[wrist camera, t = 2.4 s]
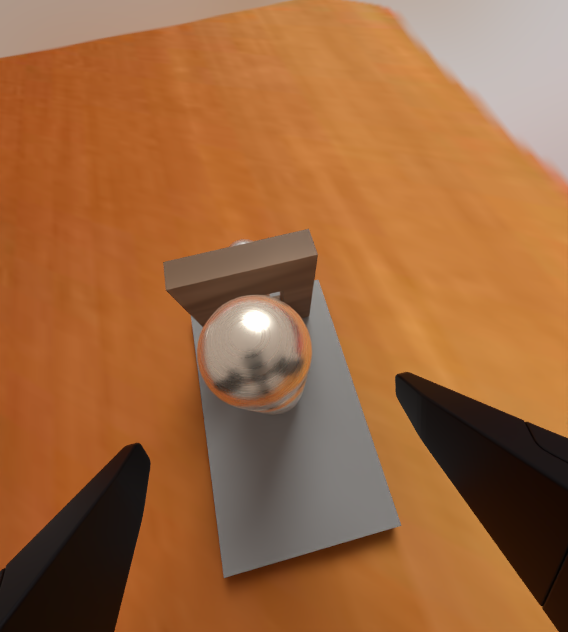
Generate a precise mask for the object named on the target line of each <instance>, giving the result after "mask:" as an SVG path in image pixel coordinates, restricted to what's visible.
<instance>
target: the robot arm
mask: <svg viewBox="0 0 568 632" xmlns="http://www.w3.org/2000/svg"><path fill="white" fill-rule="evenodd" d="M395 383H396V396H397V398H398V400H399V402H400V404H401V406H402V407H403V409H404V411H405V413H406V414H407V416H408V418H409V419H410V421H411V423H412V425H413V426H414V428H415V430H416V432H417V433H418V435H419V437H420V438H421V440H422V441H423V443H424V444H425V446H426V447H427V448H428V450H429V451H430V453H431V454H432V455H433V457H434V458H435V460H436V461H437V462H438V464H439V465H440V467H441V468H442V469H443V471H444V472H445V473H446V475H447V476H448V478H449V479H450V480H451V482H452V483H453V485H454V486H455V487H456V489H457V490H458V492H459V493H460V494H461V496H462V497H463V499H464V500H465V501H466V503H467V504H468V506H469V507H470V508H471V510H472V511H473V512H474V514H475V515H476V517H477V518H478V519H479V521H480V522H481V524H482V525H483V526H484V528H485V529H486V531H487V532H488V533H489V535H490V536H491V538H492V539H493V540H494V542H495V543H496V544H497V546H498V547H499V549H500V550H501V551H502V553H503V554H504V556H505V557H506V558H507V560H508V561H509V563H510V564H511V565H512V567H513V568H514V570H515V571H516V572H517V574H518V575H519V577H520V578H521V579H522V581H523V582H524V583H525V585H526V586H527V588H528V589H529V590H530V592H531V593H532V595H533V596H534V597H535V599H536V600H537V602H538V603H539V604H540V605H541V606H543V607H542V609H543V610H544V612H545V613H546V614H547V616H548V617H549V619H550V620H551V621H552V623H553V624H554V626H555V627H556V628H557V630H558V631H559V632H568V438H566V437H563V436H561V435H558V434H556V433H553V432H551V431H549V430H546V429H544V428H541V427H539V426H536V425H534V424H532V423H529V422H524V420H522V419H519V418H517V417H515V416H512V415H510V414H507V413H505V412H503V411H500V410H498V409H496V408H493V407H491V406H488V405H486V404H484V403H481V402H479V401H476V400H474V399H472V398H469V397H467V396H465V395H462V394H460V393H457V392H455V391H453V390H450V389H448V388H445V387H443V386H441V385H438V384H436V383H433V382H431V381H429V380H426V379H424V378H422V377H419V376H417V375H414V374H412V373H410V372H404V373H400V374H397V375H396V377H395ZM149 472H150V459H149V457H148V455H147V454H146V452H145V450H144V449H143V447H142V445H141V444H140V443H134V444H130V445H127V446H125V447H124V448H123V449H122V450H121V451H120V452H119V453H118V454H117V455H116V456H115V457H114V458H113V459H112V460H111V461H110V462H109V463H108V464H107V465H106V466H105V467H104V468H103V469H102V470H101V471H100V472H99V473H98V474H97V475H96V476H95V477H94V478H93V479H92V480H91V481H90V482H89V483H88V484H87V485H86V486H85V487H84V488H83V489H82V490H81V491H80V492H79V493H78V494H77V495H76V496H75V497H74V498H73V499H72V500H71V501H70V502H69V503H68V504H67V505H66V506H65V507H64V508H63V509H62V510H61V511H60V512H59V513H58V514H57V515H56V516H55V517H54V518H53V519H52V520H51V521H50V522H49V523H48V524H47V525H46V526H45V527H44V528H43V529H42V530H41V531H40V532H39V533H38V534H37V535H36V536H35V537H34V538H33V539H32V540H31V541H30V542H29V543H28V544H27V545H26V546H25V547H24V548H23V549H22V550H21V551H20V552H19V553H18V554H17V555H16V556H15V557H14V558H13V559H12V560H11V561H10V562H9V563H8V564H7V565H6V568H4V569H2V570H1V571H0V632H114V631H115V626H116V622H117V618H118V614H119V610H120V606H121V602H122V598H123V594H124V590H125V586H126V582H127V578H128V574H129V570H130V566H131V562H132V558H133V554H134V550H135V546H136V542H137V538H138V534H139V530H140V526H141V521H142V517H143V511H144V506H145V499H146V492H147V485H148V479H149Z"/></svg>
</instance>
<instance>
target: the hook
mask: <svg viewBox="0 0 568 632" xmlns="http://www.w3.org/2000/svg"><path fill="white" fill-rule="evenodd" d="M250 242H253V241H251V240H247V239H241V240H237V241H235V242H233V243H232V244H231V245H230V246H229V247H232V246H236V245H241V244H245V243H250ZM197 359H198V366H199V370H200V373H201V375H202V377H203V379H204V381H205V383H206V384H207V386H208V387H209V389H210V390H211V391H212V392H213V393H214V394H215V395H216V396H217V397H218V398H220V399H221V400H222V401H224V402H226V403H228V404H229V405H232V406H234V407H237V408H241V409H246V410H251V411H256V412H260V413H265V414H271V415H278V414H283V413H285V412H287V411H289V410H291V409H292V408H293V407H294V406H295V405H296V404H297V403H298V402H299V400H300V398H301V396H302V393H303V390H304V386H305V383H306V379H307V376H308V372H309V369H310V365H311V359H312V345H311V339H310V335H309V332H308V329H307V327H306V325H305V323H304V322H303V320H302V319H301V317H300V316H299V315H298V313H297V312H296V311H295V310H294V309H292V308H291V307H290V306H289V305H287V304H286V303H284V302H282V301H280V300H278V299H276V298H273V297H270V295H269V294H267V295H246V296H241V297H238V298H235V299H232V300H230V301H228V302H226V303H225V304H223V305H222V306H220V307H219V308H218V309H217V310H216V311H215V312H214V313H213V314H212V315H211V316H210V317H209V319H208V320H207V322H206V323H205V325H204V327H203V329H202V331H201V334H200V337H199V341H198V347H197Z"/></svg>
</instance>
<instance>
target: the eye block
mask: <svg viewBox="0 0 568 632" xmlns="http://www.w3.org/2000/svg"><path fill="white" fill-rule="evenodd" d="M317 256H318V254H317V251H316V248H315V245H314V242H313V240H312V237H311V234H310V231H309V229H306V230H302V231H298V232H293V233H289V234H284V235H280V236H276V237H271V238H267V239H263V240H258V241H254V242H250V243H245V244H241V245H236V246H232V247H228V248H223V249H219V250H215V251H210V252H206V253H201V254H197V255H193V256H188V257H184V258H180V259H175V260H171V261H166V262H163V264H164V275H165V286H166V291H167V292H168V293H169V294H170V295H171V296H172V297H173V298H174V299H175V300H176V301H177V302H178V303H179V304H180V305H181V306H182V307H183V308H184V309H185V310H186V311H187V312H188V313H189V314H190V315H191V316H192V317H193V318H194V319H195V320H196V321H197V322H198V323H199V324H200V325H201V326H202V327H204V325H205V323H206V322H207V320H208V319H209V317H210V316H211V315H212V314H213V313H214V312H215V311H216V310H217V309H218V308H219V307H220V306H222V305H223V304H225V303H226V302H228V301H230V300H232V299H235V298H238V297H241V296H246V295H267V294H271V293H276V292H280V295H277V296H273V298H276V299H278V300H280V301H282V302H284V303H286V304H287V305H289V306H290V307H291V308H292V309H294V310H295V311H296V312H297V313H298V315H299V316H300V317H301V318H305V317H309V315H310V307H311V300H312V293H313V286H314V278H315V271H316V264H317Z"/></svg>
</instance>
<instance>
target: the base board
mask: <svg viewBox="0 0 568 632" xmlns="http://www.w3.org/2000/svg"><path fill="white" fill-rule="evenodd" d="M269 295H270V297H273V296H277V295H280V292H276V293H271V294H269ZM301 319H302V320H303V322H304V323H305V325H306V327H307V329H308V332H309V335H310V339H311V345H312V359H311V365H310V369H309V372H308V376H307V379H306V383H305V386H304V390H303V393H302V396H301V398H300V400H299V402H298V403H297V404H296V405H295V406H294V407H293V408H292V409H291V410H289V411H287V412H285V413H283V414H278V415H271V414H265V413H260V412H256V411H251V410H246V409H241V408H237V407H234V406H232V405H229V404H228V403H226V402H224V401H222V400H221V399H220V398H218V397H217V396H216V395H215V394H214V393H213V392H212V391H211V390H210V389H209V387H208V386H207V384H206V383H205V381H204V379H203V377H202V375H201V373H200V370H199V366H198V359H197V347H198V341H199V337H200V334H201V331H202V329H203V327H202V326H201V325H200V324H199V323H198V322H197V321H196V320H195V319H194V318H193V317H192V316H191V320H192V328H193V336H194V343H195V351H196V359H197V367H198V375H199V383H200V391H201V399H202V407H203V415H204V423H205V431H206V439H207V447H208V455H209V463H210V471H211V479H212V487H213V495H214V503H215V511H216V519H217V527H218V535H219V543H220V551H221V559H222V567H223V575H224V578H226V577H229V576H232V575H236V574H239V573H242V572H246V571H249V570H253V569H256V568H259V567H263V566H266V565H270V564H273V563H276V562H280V561H283V560H287V559H290V558H293V557H297V556H300V555H303V554H307V553H310V552H314V551H317V550H320V549H324V548H327V547H331V546H334V545H337V544H341V543H344V542H347V541H351V540H354V539H358V538H361V537H364V536H368V535H371V534H375V533H378V532H381V531H385V530H388V529H392V528H395V527H398V526H401V523H400V520H399V517H398V514H397V511H396V508H395V506H394V503H393V500H392V497H391V494H390V491H389V488H388V485H387V482H386V479H385V476H384V473H383V470H382V467H381V464H380V461H379V458H378V455H377V452H376V449H375V446H374V443H373V440H372V437H371V435H370V432H369V429H368V426H367V423H366V420H365V417H364V414H363V411H362V408H361V405H360V402H359V399H358V396H357V393H356V390H355V387H354V384H353V381H352V378H351V375H350V372H349V369H348V366H347V363H346V361H345V358H344V355H343V352H342V349H341V346H340V343H339V340H338V337H337V334H336V331H335V328H334V325H333V322H332V319H331V316H330V313H329V310H328V307H327V304H326V301H325V298H324V295H323V292H322V289H321V287H320V284H319V281H318V280H315V281H314V286H313V293H312V300H311V307H310V315H309V317H305V318H301Z"/></svg>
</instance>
